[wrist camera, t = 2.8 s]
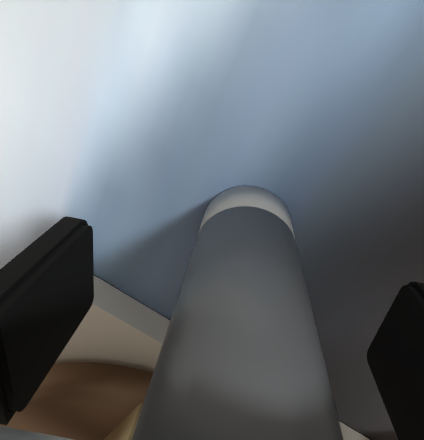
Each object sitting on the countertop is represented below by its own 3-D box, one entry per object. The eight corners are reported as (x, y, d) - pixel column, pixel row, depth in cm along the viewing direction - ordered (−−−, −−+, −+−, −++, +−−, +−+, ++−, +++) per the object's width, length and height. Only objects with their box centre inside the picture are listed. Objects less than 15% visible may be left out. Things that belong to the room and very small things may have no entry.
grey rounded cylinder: (237, 167, 12) (192, 462, 3) (309, 220, 13) (445, 592, 4) (186, 233, 14) (60, 556, 5) (253, 277, 14) (254, 638, 5)
